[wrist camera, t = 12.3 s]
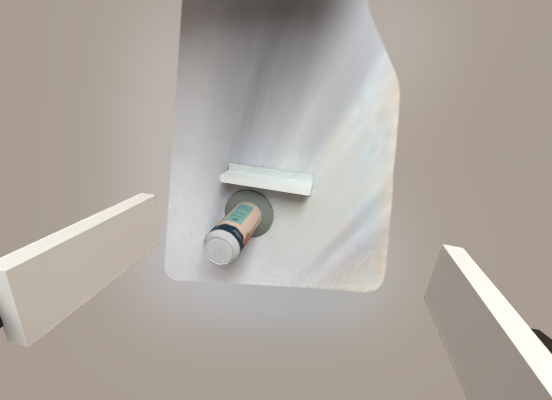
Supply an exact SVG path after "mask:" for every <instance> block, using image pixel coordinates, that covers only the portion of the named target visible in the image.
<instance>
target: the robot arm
mask: <svg viewBox="0 0 552 400" xmlns="http://www.w3.org/2000/svg"><path fill="white" fill-rule="evenodd" d="M158 244H159V240H158V226H157V210H156V196H155V195H151V194H146V193H140V194H138V195H136V196H133V197H131V198H129V199H127V200H125V201H123V202H120V203H118V204H116V205H114V206H112V207H110V208H107V209H105V210H103V211H101V212H99V213H97V214H94V215H92V216H90V217H88V218H86V219H84V220H81V221H79V222H77V223H75V224H73V225H71V226H68V227H66V228H64V229H62V230H60V231H58V232H55V233H53V234H51V235H49V236H47V237H45V238H43V239H40V240H38V241H36V242H34V243H31V244H29V245H27V246H25V247H23V248H21V249H18V250H16V251H14V252H12V253H10V254H8V255H6V256H3V257H1V258H0V328H1V327H2V326H3V328H4V331H5V334H6V337H7V340H8V341H9V342H12V343H16V344H19V345H22V346H25V347H29V346H30V345H32V344H33V343H34V342H36V341H37V340H38V339H39V338H41V337H42V336H43V335H44V334H46V333H47V332H48V331H49V330H51V329H52V328H53V327H54V326H56V325H57V324H58V323H60V322H61V321H62V320H63V319H65V318H66V317H67V316H68V315H70V314H71V313H72V312H74V311H75V310H76V309H77V308H79V307H80V306H81V305H82V304H84V303H85V302H86V301H88V300H89V299H90V298H91V297H93V296H94V295H95V294H96V293H98V292H99V291H100V290H101V289H103V288H104V287H105V286H106V285H108V284H109V283H110V282H111V281H113V280H114V279H115V278H117V277H118V276H119V275H120V274H122V273H123V272H124V271H126V270H127V269H128V268H129V267H131V266H132V265H133V264H134V263H136V262H137V261H138V260H139V259H140V258H142V257H143V256H145V255H146V254H147V253H148V252H150V251H151V250H152V249H153V248H155V247H156V246H157V245H158ZM424 300H425V302H426V304H427V307H428V309H429V312H430V314H431V316H432V319H433V321H434V323H435V326H436V328H437V330H438V333H439V335H440V337H441V340H442V342H443V344H444V347H445V349H446V352H447V354H448V356H449V359H450V361H451V363H452V366H453V368H454V370H455V373H456V375H457V377H458V380H459V382H460V384H461V387H462V389H463V391H464V394H465V396H466V399H467V400H552V339H550V338H549V337H548V336H546V335H545V334H544V333H543V332H541V331H540V330H536V329H531V328H529V326H528V325H527V324H526V323H525V322H524V321H523V319H522V318H521V317H520V316H519V315H518V314H517V312H516V311H515V310H514V308H512V306H511V305H510V304H509V303H508V302H507V300H506V299H505V298H504V297H503V295H502V294H501V293H500V292H499V291H498V289H497V288H496V287H495V286H494V285H493V283H492V282H491V281H490V280H489V279H488V277H487V276H486V275H485V274H484V273H483V271H482V270H481V269H480V268H479V267H478V266H477V264H476V263H475V262H474V261H473V260H472V258H471V257H470V256H469V255H468V254H467V252H466V251H465V250H464V249H463V248H460V247H454V246H449V245H442V248H441V251H440V253H439V256H438V259H437V262H436V265H435V268H434V271H433V274H432V277H431V280H430V282H429V285H428V288H427V291H426V294H425V297H424Z"/></svg>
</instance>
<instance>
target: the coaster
mask: <svg viewBox="0 0 552 400" xmlns="http://www.w3.org/2000/svg"><path fill="white" fill-rule="evenodd" d="M244 201H248V202H251V203H254V204H255V205H256V206H257V207H258V208H259V209H260V211H261V214H262V220H261V223H260V224H259V225H258V226H257V228H256V229H255V231H254V232H253V234H252V235H251V237H256V236H260V235H262V234H264V233H265V232H266V231H267V230H268V229H269V228H270V226H271V224H272V221H273V210H272V207H271V205H270V203H269V202H268V200H267V199H266V198H265V197H264V196H263V195H261V194H259V193H257V192H255V191H251V190H243V191H239V192H237V193H235V194H234V195H232V196H231V197H230V198H229V200H228V201H227V204H226V207H225V215H227V214H228V213H229V212H230V211H231V210H232V209H233V208H234V207H235V206H236V205H237V204H238V203H241V202H244Z"/></svg>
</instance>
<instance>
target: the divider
mask: <svg viewBox="0 0 552 400" xmlns="http://www.w3.org/2000/svg"><path fill="white" fill-rule="evenodd" d="M313 179H314V174H307V173H300V172H293V171H286V170H279V169H272V168H265V167H258V166H251V165H244V164H237V163H229V170H228V171H226V172H224V173H223V174H221V175H220V182H224V183H230V184H237V185H243V186H250V187H256V188H263V189H269V190H275V191H282V192H288V193H295V194H301V195H307V196H310V195H311V193H312V186H313Z"/></svg>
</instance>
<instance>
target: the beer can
mask: <svg viewBox="0 0 552 400" xmlns="http://www.w3.org/2000/svg"><path fill="white" fill-rule="evenodd" d="M261 220H262V214H261V211H260V209H259V208H258V207H257V206H256V205H255V204H254V203H251V202H248V201H244V202H241V203H238V204H237V205H236V206H235V207H234V208H233V209H232V210H231V211H230V212H229V213H228V214H227V215H226V216H225V217H224V218H223V219H222V220H221V221H220V222H219V223H218V224H217V225H216V226H215V227H214V228H213V229H212V230H211V231H210V232H209V233H208V234H207V235H206V237H205V239H204V246H203V247H204V253H205V256H206V257H207V258H208V259H209V260H210V261H211V262H212V263H215V264H218V265H224V264H229V263H232V262H234V261H235V260H236V259H237V258H238V256H239V254H240V252H241V250H242V249H243V247H244V246H245V244H246V243H247V241H248V240H249V238H250V237H251V235H252V234H253V232H254V231H255V229H256V228H257V226H258V225H259V224H260V223H261Z"/></svg>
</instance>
